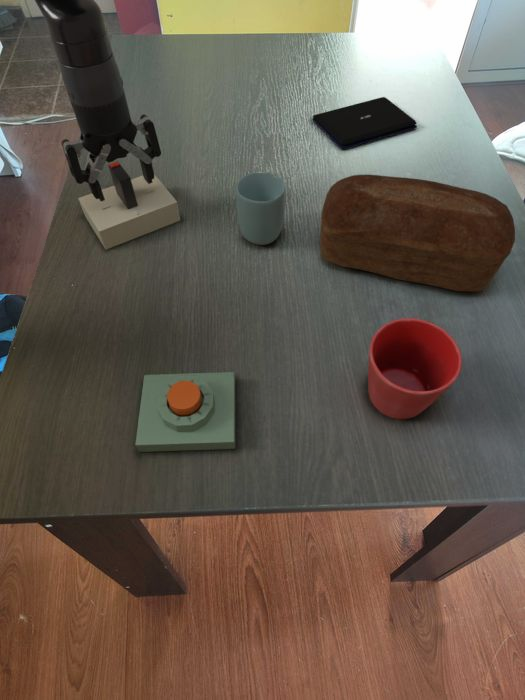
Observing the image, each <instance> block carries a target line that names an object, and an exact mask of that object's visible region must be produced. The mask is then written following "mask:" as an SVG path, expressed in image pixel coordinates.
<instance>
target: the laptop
mask: <svg viewBox="0 0 525 700" xmlns="http://www.w3.org/2000/svg"><path fill="white" fill-rule="evenodd" d="M312 121H313V123H314V124H315V125H316V126H317V127H318V128H319V129H320V130H321V131H322V132H323V133H324V134H325V135H326V136H327V137H328V138H329V139H330V140H331V141H332V142H333V144H335V145H336V146H337V147H338V148H339V149H340V150H347V149H350V148H351V147H352V148H353V147H356V146H359V145H363V144H366V143H371V142H374V141H377V140H381V139H384V138H388V137H390V136H394V135H398V134H401V133H404V132H409V131H411V130H415V129H417V127H418V126H417V121H416V120H415V119H414V118H413V117H411V116H410V115H409V114H407V113H406V112H405V111H404V110H403V109H401V108H400V107H399V106H398V105H396V104H395V103H394V102H392V101H391V100H390V99H388V98H387V97H386V96H381V97H377V98H375V99H374V98H373V99H371V100H366V101H362V102H358V103H354V104H351V105H347V106H344V107H339V108H336V109H332V110H327V111H324V112H320V113H317V114H313V115H312Z"/></svg>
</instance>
